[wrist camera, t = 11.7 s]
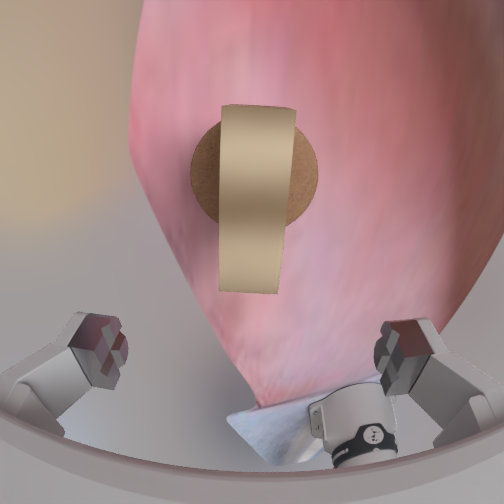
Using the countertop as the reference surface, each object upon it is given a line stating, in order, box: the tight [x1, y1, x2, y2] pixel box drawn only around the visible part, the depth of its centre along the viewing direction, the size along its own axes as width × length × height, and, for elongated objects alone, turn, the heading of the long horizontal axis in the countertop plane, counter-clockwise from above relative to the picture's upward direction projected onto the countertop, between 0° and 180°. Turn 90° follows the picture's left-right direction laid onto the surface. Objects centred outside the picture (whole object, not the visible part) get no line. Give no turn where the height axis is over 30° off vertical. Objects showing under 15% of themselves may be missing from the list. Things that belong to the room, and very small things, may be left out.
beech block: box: [219, 104, 296, 294], centre depth 20 cm, size 12×4×6 cm, turn 177°
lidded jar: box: [191, 122, 318, 226], centre depth 27 cm, size 11×11×9 cm
